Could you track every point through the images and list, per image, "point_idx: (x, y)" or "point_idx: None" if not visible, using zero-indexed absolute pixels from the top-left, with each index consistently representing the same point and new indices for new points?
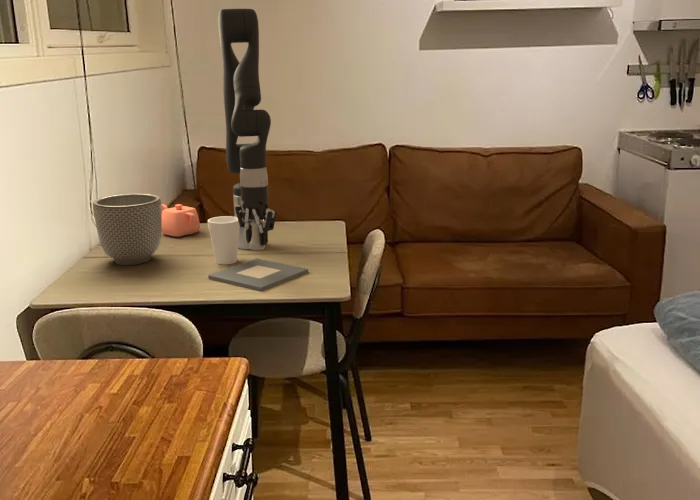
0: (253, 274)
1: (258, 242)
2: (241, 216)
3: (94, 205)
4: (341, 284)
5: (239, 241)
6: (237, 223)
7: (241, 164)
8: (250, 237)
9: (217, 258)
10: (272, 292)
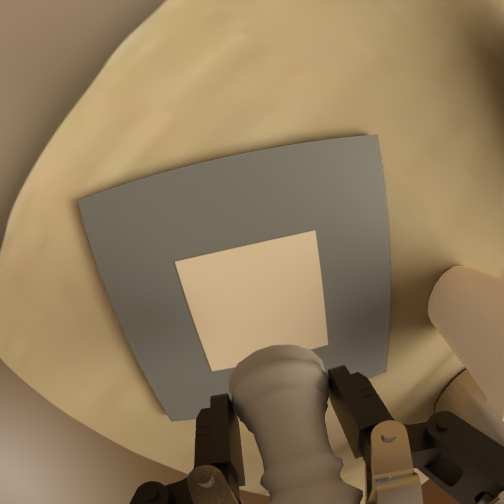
0: (242, 273)
1: (243, 400)
2: (474, 476)
3: None
4: (42, 391)
5: None
6: (498, 404)
7: None
8: (340, 402)
9: (467, 269)
10: (54, 223)
